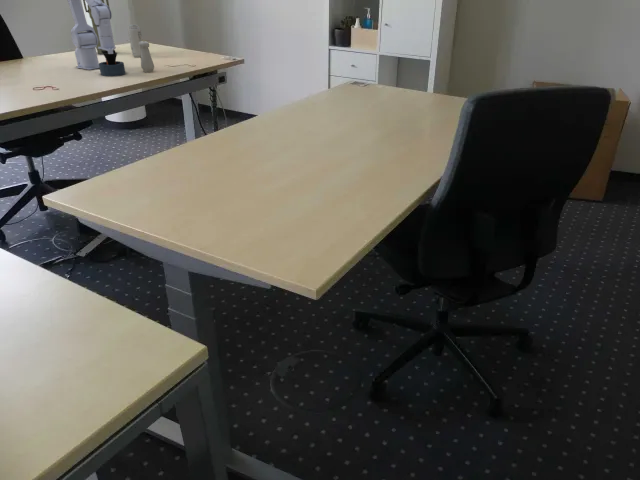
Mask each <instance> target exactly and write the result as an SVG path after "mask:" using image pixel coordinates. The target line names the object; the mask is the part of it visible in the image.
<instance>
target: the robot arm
mask: <svg viewBox="0 0 640 480" xmlns="http://www.w3.org/2000/svg"><path fill="white" fill-rule="evenodd" d="M67 3H68V7H69V9H70V10H69V11H70V13H71V16H72V19H73V22H74V26H73V27H72V28H71V29H70V35H71V41H72V44H73V45H74V46H75V47H76V48H75V51H74V55H75V59H76V63H77V65H76V68H77V69H84V70H89V71H90V70H96V69H100V67H99V63H100V62H99V58H98V53H97V49H96V47H97V45H98V37H97V35H96V33H95V31H94V28H93V26H91V25H90V24H88V22H87V19H86V16H85V11H84V9H83V6H82V2H81V0H67ZM85 3H86V5H87V6H88V5H89V7H90V9H91V14H92V17H93V19H94V22H95V24H96V25H97V30H98V35H99V40H100V44H101V47H98V49H103V50H105V51H102V53H103V55H102V56H103V57H104V58H105V61H106V60H107V62H108V65H114V64H116V61H117V56H118V53H117V52H116V48H117V47H116V44H115V40H114V39H115V38H114V34H113V29H112V23H111V20H112V17H113V16H112V11H111V8H109V7H110V5H109V6H108V5H107V4H106V3H105V2H104V3H102V1H101V0H85Z"/></svg>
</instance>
